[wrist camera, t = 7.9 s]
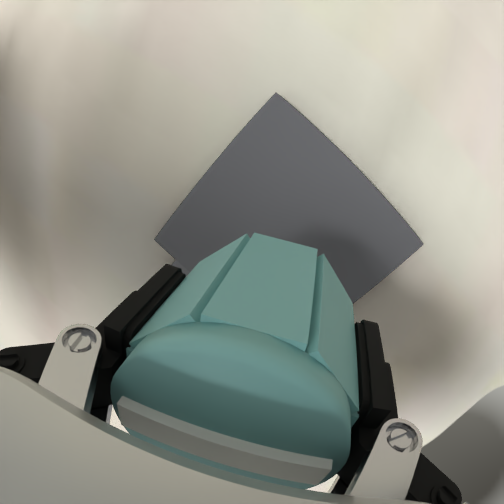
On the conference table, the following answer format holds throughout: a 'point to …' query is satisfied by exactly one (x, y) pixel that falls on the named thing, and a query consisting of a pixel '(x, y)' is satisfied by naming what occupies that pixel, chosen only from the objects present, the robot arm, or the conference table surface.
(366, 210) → the mat
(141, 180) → the conference table surface
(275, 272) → the cap
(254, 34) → the conference table surface
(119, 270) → the conference table surface
